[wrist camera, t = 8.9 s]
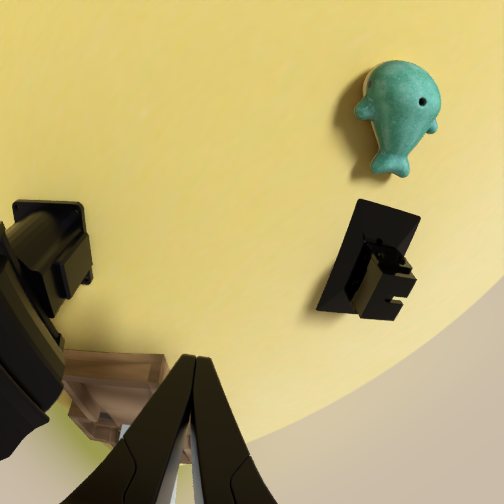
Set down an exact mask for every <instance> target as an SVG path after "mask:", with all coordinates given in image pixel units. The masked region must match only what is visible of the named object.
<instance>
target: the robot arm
mask: <svg viewBox="0 0 504 504" xmlns="http://www.w3.org/2000/svg"><path fill="white" fill-rule="evenodd" d="M17 205H18V206H19V208H18V206H17ZM75 208H77V209H78V212H76V211H75ZM12 209H13V215H14V220H15V223H14V224H13V225H12V226H11V227H10V228H8V229H7V230H6V229H5V226H4V224H3V221H0V461H1V460H3V459H6V458H8V457H9V456H10V455H11V454H12V452H14V450H15V449H16V447H17V446H18V445H19V444H20V442H21V441H22V440H23V439H24V438H25V437H26V436H27V435H28V434H29V433H30V432H32V431H33V430H34V429H35V428H37V427H39V426H42V425H44V424H46V423H48V422H49V417H48V416H47V415H46V414H45V412H46V411H48V410H49V409H50V408H51V406H52V405H53V404H54V403H55V402H56V400H57V399H58V398H59V396H60V394H61V392H62V390H63V388H64V383H63V382H62V378H63V374H64V369H65V360H64V354H63V351H64V342H65V340H64V338H63V337H62V335H61V334H60V333H58V331H57V330H56V328H55V327H54V325H53V324H52V322H51V320H50V319H49V318H54V317H55V315H56V314H57V312H58V310H59V309H60V307H61V305H62V304H63V302H64V301H65V299H68V300H69V299H71V297H72V296H73V295H74V293H75V291H76V290H77V288H78V287H79V285H80V284H86V285H89V284H90V283H91V282H92V280H93V274H92V268H91V266H92V265H93V263H92V256H91V249H90V242H89V235H88V233H87V232H86V224H85V215H84V207H83V205H82V204H81V203H79V202H69V201H47V200H16V201H15V202H14V203H13V204H12ZM5 230H6V231H5ZM85 277H87V278H88V279H87V278H85ZM190 413H191V415H190ZM189 421H190V440H191V458H192V473H193V487H194V499H195V504H278V503H277V502H276V500H275V499H274V498H273V496H272V494H271V493H270V491H269V490H268V488H267V487H266V485H265V484H264V482H263V480H262V478H261V476H260V474H259V472H258V470H257V468H256V466H255V464H254V461H253V459H252V457H251V456H249V455H250V453H249V451H248V448H247V446H246V444H245V441H244V439H243V437H242V434H241V432H240V430H239V427H238V425H237V423H236V420H235V418H234V415H233V413H232V411H231V408H230V406H229V403H228V401H227V398H226V396H225V393H224V391H223V388H222V385H221V383H220V380H219V378H218V375H217V372H216V370H215V367H214V364H213V362H212V360H211V358H209V357H203V356H198V357H197V358H196V356H195V355H189V354H182V355H181V356H180V358H179V359H178V361H177V362H176V363H175V365H174V366H173V367H172V369H171V370H170V372H169V373H168V374H167V376H166V377H165V378H164V380H163V381H162V383H161V384H160V385H159V387H158V388H157V389H156V391H155V392H154V394H153V395H152V396H151V398H150V399H149V400H148V402H147V403H146V405H145V406H144V407H143V409H142V410H141V411H140V413H139V414H138V416H137V417H136V418H135V420H134V421H133V422H132V424H131V425H130V427H129V428H128V429H127V431H126V432H125V433H124V435H123V438H121V439H120V440H119V441H118V443H117V444H116V446H115V447H114V448H113V449H112V451H111V452H110V453H109V454H108V456H107V457H106V458H105V460H104V461H103V462H102V463H101V464H100V465H99V466H98V467H97V468H96V469H95V471H93V473H91V475H89V476H88V478H86V479H85V480H84V481H83V482H82V484H80V485H79V486H78V487H77V488H76V489H75V490H74V491H73V492H72V493H71V494H70V495H69V496H68V497H67V498H66V499H65V500H63V501H62V502H61V503H60V504H170V502H171V498H172V493H173V489H174V485H175V481H176V476H177V472H178V468H179V464H180V459H181V455H182V451H183V447H184V443H185V439H186V435H187V430H188V426H189Z"/></svg>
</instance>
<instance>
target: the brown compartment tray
mask: <svg viewBox="0 0 504 504" xmlns="http://www.w3.org/2000/svg"><path fill="white" fill-rule="evenodd" d="M63 354H64V360H65V369H64V374H63V378H62V382H63V383H64V389H65V390H66V392H67V393H68V394H69V396H70V397H71V398H72V399H73V401H72V404H71V407H70V410H69V413H68V416H69V417H70V418H71V419H72V420H73V422H74V423H75V424H76V425H77V426H78V427H79V428H80V429H81V430H82V431H83V432H84V433H85V435H86V436H87V437H88V438H89V439H90V440H95V441H100V442H106V443H110V444H111V445H112V446H113V447H115V446H116V444H117V443H118V441H119V438H120V433H121V429H122V424H124V425H131V424H132V422H133V421H134V420H135V418H136V417H137V416H138V414H139V413H140V411H141V410H142V409H143V407H144V406H145V405H146V403H147V402H148V400H149V399H150V398H151V396H152V395H153V394H154V392H155V391H156V389H157V388H158V387H159V385H160V384H161V383H162V381H163V380H164V378H165V377H166V376H167V374H168V373H169V372H170V370H169V368H168V365H167V362H166V359H165V357H164V355H161V354H124V353H104V352H89V351H76V350H65V349H64V351H63ZM190 415H191V413H190ZM180 463H183V464H192V458H191V440H190V421H189V426H188V430H187V435H186V439H185V443H184V447H183V451H182V455H181V459H180Z"/></svg>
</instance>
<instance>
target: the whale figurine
mask: <svg viewBox="0 0 504 504" xmlns="http://www.w3.org/2000/svg"><path fill="white" fill-rule="evenodd" d="M440 108H441V96H440V92H439V89H438V87H437V85H436V83H435V81H434V80H433V78H432V77H431V76H430V75H429V74H428V73H427V72H426V71H425V70H424V69H422V68H421V67H419V66H417V65H415V64H413V63H410V62H406V61H399V60H394V61H386V62H383V63H380V64H378V65H377V66H375V67H374V68H373V69H372V70H371V71H370V72H369V73H368V74H367V76H366V78H365V80H364V83H363V98H362V99H361V100H360V101H359V102H358V103H357V105H356V106H355V108H354V114H355V116H356V117H357V118H358V119H360V120H370V121H371V125H372V128H373V131H374V134H375V137H376V139H377V142H378V146H379V150H378V152H377V154H376V155H375V156H374V158H373V159H372V161H371V163H370V170H371V172H372V173H374V174H381V173H393V174H395V175H397V176H399V177H402V178H404V177H407V176H408V174H409V172H410V167H409V161H408V154H409V153H410V152H411V151H412V150H413V148H414V147H415V146H416V145H417V144H418V143H419V141H420V140H421V139H422V137H423V136H424V134H425V133H427V134H433V133H435V132H436V131H437V128H438V126H437V122H436V117H437V115H438V113H439V111H440Z"/></svg>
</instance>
